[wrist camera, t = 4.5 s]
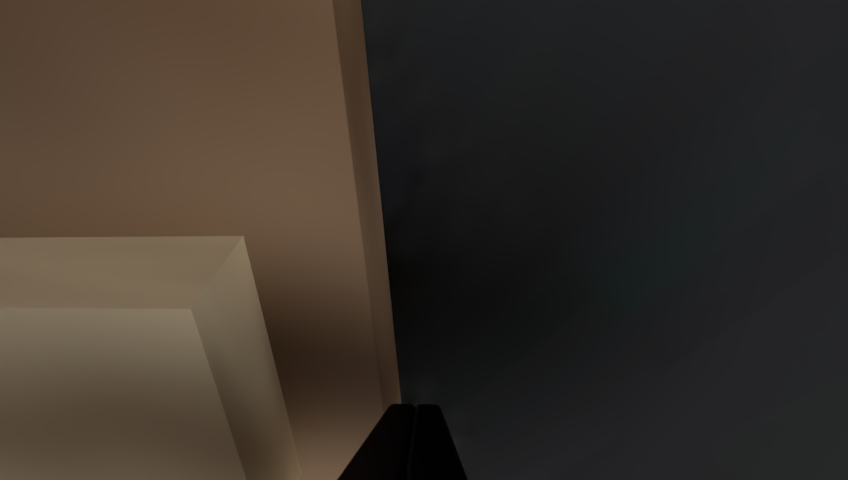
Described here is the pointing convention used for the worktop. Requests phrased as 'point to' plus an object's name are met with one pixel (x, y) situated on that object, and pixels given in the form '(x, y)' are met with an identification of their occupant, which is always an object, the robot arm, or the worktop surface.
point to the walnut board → (219, 171)
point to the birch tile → (137, 362)
